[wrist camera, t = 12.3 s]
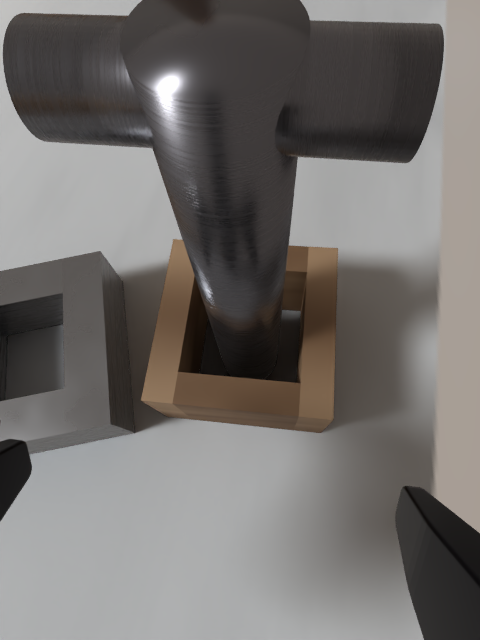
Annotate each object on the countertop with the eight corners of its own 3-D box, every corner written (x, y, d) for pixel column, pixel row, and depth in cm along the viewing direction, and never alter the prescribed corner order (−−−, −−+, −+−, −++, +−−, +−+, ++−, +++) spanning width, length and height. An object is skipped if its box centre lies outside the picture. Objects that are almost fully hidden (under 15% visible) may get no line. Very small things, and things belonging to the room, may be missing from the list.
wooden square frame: (320, 432, 18) (333, 420, 14) (167, 416, 19) (140, 400, 15) (326, 290, 20) (337, 248, 17) (190, 281, 21) (173, 239, 17)
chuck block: (134, 432, 18) (110, 424, 16) (-37, 467, 18) (-92, 465, 16) (122, 281, 21) (100, 251, 19) (-25, 310, 21) (-69, 285, 19)
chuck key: (314, 337, 20) (438, -26, 6) (310, 390, 19) (450, 109, 5) (193, 325, 20) (37, -30, 6) (183, 375, 19) (-26, 87, 5)
